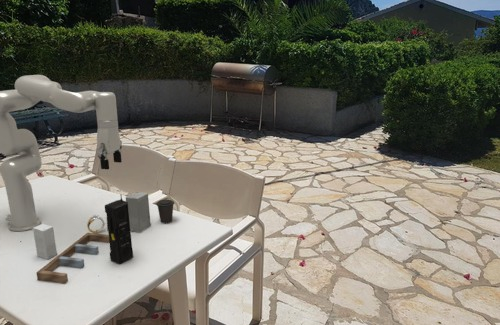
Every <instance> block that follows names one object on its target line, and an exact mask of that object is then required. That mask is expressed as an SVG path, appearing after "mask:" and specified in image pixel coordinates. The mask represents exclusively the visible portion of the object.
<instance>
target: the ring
mask: <svg viewBox="0 0 500 325" xmlns="http://www.w3.org/2000/svg"><path fill="white" fill-rule="evenodd" d="M95 220H100V221H101V223H102V226H101V227H100V229H96V230H93V229H91V228H90V226H91V224H92V223H93V222H94V221H95ZM105 225H106V223H105V220H104V219H103V218H102V217H100V216H99V215H98V214H97V215H96V214H94V215H93V216H92V217H90V218H89V219H88V221H87V226H86V227H87V229H88V231H89V233H97V234H99V233H100V232H102V230H103V229H104V227H105Z"/></svg>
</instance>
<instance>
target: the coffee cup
mask: <svg viewBox="0 0 500 325" xmlns="http://www.w3.org/2000/svg"><path fill="white" fill-rule="evenodd" d="M174 204H175V202H174V200H172V199H161V200H158V201H157V202H156V206H157V209H158V215H159V221H160V223H161V224H170V223H172V222H173V213H174Z"/></svg>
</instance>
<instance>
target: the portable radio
mask: <svg viewBox="0 0 500 325" xmlns="http://www.w3.org/2000/svg"><path fill="white" fill-rule="evenodd" d="M104 212H105V214H106V229H107V233H108V235H109V243H108V244H109V259H110V261H112V262H113V263H116V264H118V265H120V264H123V263H124V262H126V261H128V260H130V259H131V258H133V257H134V251H133V250H134V249H133V243H132V242H133V241H132V235H131V231H130V222H129V211H128V202H126V200H123V198H122V195H120V199H117V200H115V201H112V202H109V203H107V204H104Z"/></svg>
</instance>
